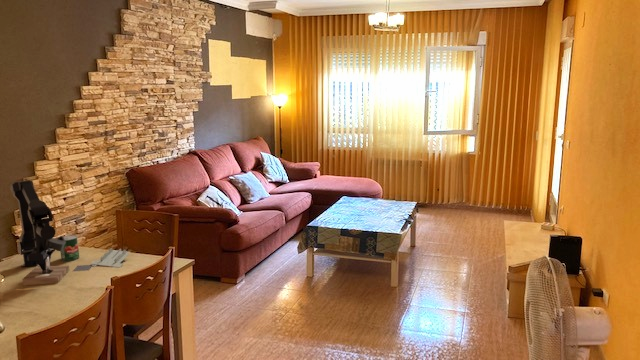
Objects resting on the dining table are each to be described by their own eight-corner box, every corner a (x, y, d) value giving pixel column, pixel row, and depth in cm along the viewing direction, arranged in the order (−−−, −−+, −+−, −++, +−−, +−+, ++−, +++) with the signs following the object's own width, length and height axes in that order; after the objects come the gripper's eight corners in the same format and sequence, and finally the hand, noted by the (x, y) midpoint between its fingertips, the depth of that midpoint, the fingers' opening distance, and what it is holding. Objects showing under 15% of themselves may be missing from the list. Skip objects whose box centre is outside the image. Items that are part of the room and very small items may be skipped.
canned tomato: (68, 256, 248) (66, 234, 246) (83, 257, 246) (80, 235, 244) (57, 261, 240) (54, 239, 238) (72, 262, 239) (69, 240, 237)
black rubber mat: (77, 266, 234) (77, 265, 234) (93, 265, 235) (93, 264, 235) (72, 272, 227) (72, 271, 227) (89, 271, 228) (88, 270, 228)
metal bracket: (106, 245, 244) (134, 248, 241) (109, 255, 247) (136, 258, 244) (87, 262, 232) (117, 265, 229) (90, 272, 234) (119, 276, 231)
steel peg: (44, 272, 221) (41, 254, 219) (52, 271, 221) (49, 254, 220) (41, 275, 218) (39, 257, 216) (49, 274, 218) (47, 256, 217)
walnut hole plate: (36, 273, 226) (35, 266, 225) (69, 271, 228) (68, 264, 227) (23, 286, 212) (22, 278, 211) (58, 283, 214) (57, 276, 213)
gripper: (53, 239, 208) (58, 275, 211) (69, 227, 226) (72, 260, 229) (24, 241, 207) (29, 277, 210) (42, 228, 225) (46, 262, 228)
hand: (45, 269), depth 219 cm, fingers closed on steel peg, 3 cm apart
